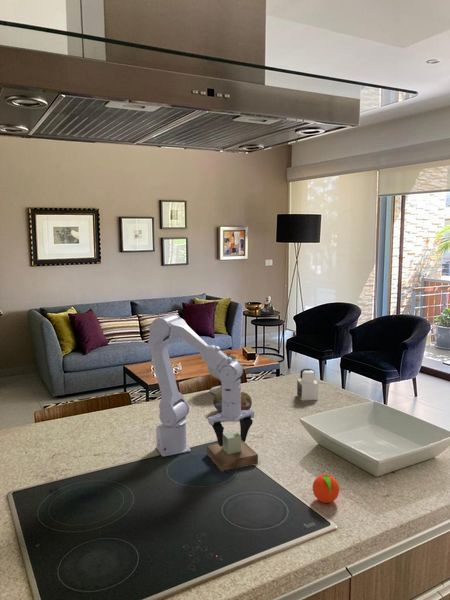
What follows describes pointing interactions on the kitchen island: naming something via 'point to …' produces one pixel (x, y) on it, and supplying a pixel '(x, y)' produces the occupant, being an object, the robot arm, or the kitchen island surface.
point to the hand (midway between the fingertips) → (231, 442)
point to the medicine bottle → (307, 385)
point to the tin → (245, 401)
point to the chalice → (215, 374)
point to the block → (231, 442)
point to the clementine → (325, 488)
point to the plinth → (232, 456)
